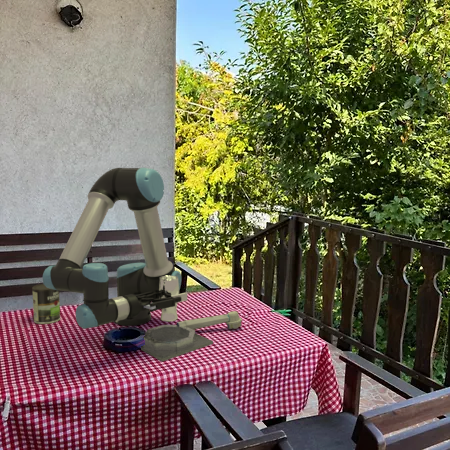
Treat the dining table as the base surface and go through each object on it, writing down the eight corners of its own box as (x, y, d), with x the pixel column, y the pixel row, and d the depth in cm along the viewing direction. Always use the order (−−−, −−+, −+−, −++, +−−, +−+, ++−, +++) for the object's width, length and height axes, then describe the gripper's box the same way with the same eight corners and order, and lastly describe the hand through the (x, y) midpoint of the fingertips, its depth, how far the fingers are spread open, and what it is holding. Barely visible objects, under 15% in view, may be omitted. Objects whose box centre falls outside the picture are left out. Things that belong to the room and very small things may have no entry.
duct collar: (126, 341, 164) (126, 332, 163) (175, 327, 178) (175, 318, 178) (162, 361, 148) (162, 351, 147) (213, 343, 162) (213, 334, 162)
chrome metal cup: (163, 323, 157) (162, 281, 155) (156, 317, 163) (156, 276, 161) (181, 320, 160) (181, 278, 158) (174, 314, 166) (174, 274, 164)
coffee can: (66, 317, 189) (64, 284, 187) (48, 325, 179) (46, 291, 177) (46, 314, 193) (45, 282, 191) (27, 322, 183) (26, 288, 181)
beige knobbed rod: (175, 320, 173) (238, 306, 179) (178, 336, 174) (240, 322, 180) (177, 324, 168) (241, 310, 174) (180, 341, 169) (244, 327, 175)
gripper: (109, 311, 156) (164, 298, 172) (140, 326, 142) (197, 310, 157) (109, 290, 155) (164, 279, 171) (140, 303, 141) (197, 289, 156)
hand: (180, 294), depth 164 cm, fingers closed on chrome metal cup, 6 cm apart
